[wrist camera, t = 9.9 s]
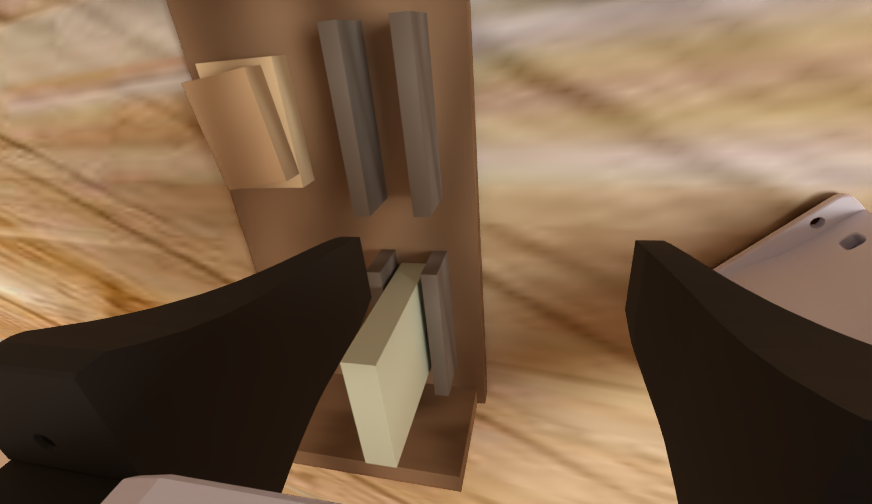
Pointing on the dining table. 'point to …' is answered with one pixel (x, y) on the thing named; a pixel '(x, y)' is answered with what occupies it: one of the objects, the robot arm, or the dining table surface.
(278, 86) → the offcut lower
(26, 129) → the dining table surface
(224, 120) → the offcut upper
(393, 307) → the beige flat block
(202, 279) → the dining table surface
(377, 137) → the rack
